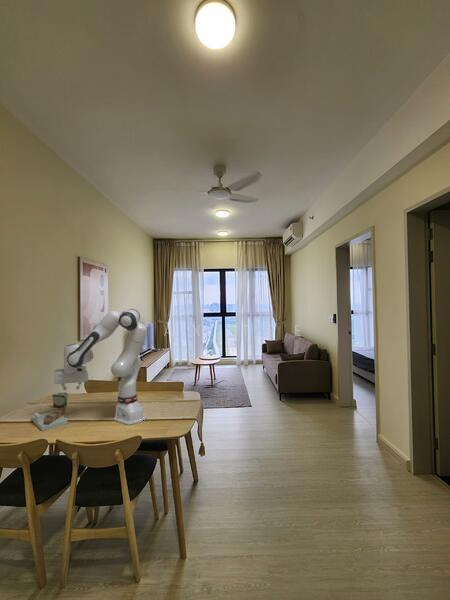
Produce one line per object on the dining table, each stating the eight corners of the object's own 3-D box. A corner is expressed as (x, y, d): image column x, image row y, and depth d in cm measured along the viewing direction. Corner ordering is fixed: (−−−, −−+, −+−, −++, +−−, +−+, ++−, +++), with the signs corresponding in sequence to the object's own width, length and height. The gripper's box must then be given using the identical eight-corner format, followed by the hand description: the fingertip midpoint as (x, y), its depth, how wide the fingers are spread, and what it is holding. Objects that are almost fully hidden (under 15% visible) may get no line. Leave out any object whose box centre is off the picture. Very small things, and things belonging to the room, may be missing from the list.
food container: (72, 406, 211) (72, 392, 212) (65, 409, 205) (65, 395, 206) (58, 405, 215) (58, 391, 215) (52, 408, 209) (51, 394, 209)
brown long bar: (49, 424, 174) (49, 416, 174) (43, 424, 174) (43, 416, 174) (65, 412, 192) (65, 406, 192) (59, 412, 192) (59, 406, 192)
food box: (67, 423, 181) (67, 414, 181) (42, 431, 170) (42, 421, 170) (55, 414, 197) (55, 405, 197) (31, 420, 187) (31, 411, 187)
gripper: (52, 370, 184) (52, 392, 184) (86, 368, 188) (86, 389, 188) (55, 368, 190) (56, 389, 190) (88, 366, 194) (89, 387, 194)
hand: (71, 389), depth 189 cm, fingers open, 6 cm apart
